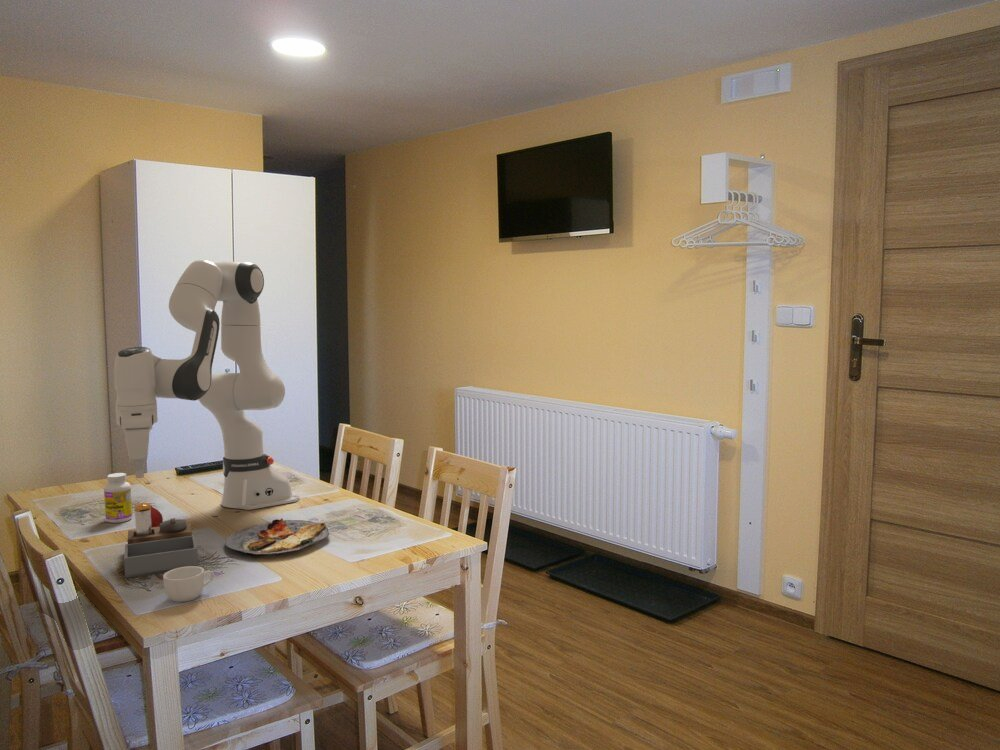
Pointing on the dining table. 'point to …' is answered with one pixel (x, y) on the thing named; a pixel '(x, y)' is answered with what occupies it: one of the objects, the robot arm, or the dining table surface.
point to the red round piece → (155, 517)
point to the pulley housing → (163, 531)
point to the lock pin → (143, 519)
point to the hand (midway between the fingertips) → (139, 473)
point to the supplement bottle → (117, 499)
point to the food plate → (278, 536)
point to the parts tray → (159, 556)
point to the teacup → (185, 583)
